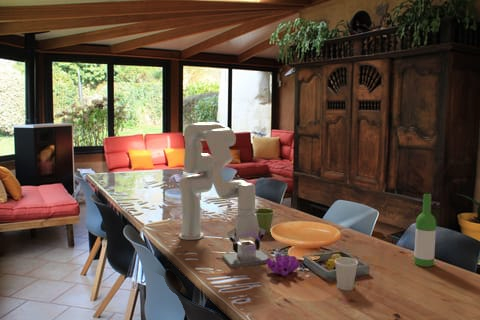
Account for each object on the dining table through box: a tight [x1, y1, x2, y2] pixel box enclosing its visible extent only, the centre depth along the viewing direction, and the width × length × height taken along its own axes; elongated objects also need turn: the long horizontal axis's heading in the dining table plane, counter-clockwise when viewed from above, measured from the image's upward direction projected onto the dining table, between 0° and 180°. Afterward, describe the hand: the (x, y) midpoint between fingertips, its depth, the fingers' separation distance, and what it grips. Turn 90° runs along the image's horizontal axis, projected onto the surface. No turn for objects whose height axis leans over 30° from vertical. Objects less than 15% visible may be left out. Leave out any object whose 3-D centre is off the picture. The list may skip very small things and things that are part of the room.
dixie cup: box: [335, 257, 358, 291], centre depth 157 cm, size 8×8×10 cm
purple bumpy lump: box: [265, 254, 302, 277], centre depth 171 cm, size 11×15×10 cm
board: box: [221, 249, 270, 268], centre depth 185 cm, size 12×18×6 cm, turn 109°
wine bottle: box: [413, 193, 437, 268], centre depth 179 cm, size 8×8×30 cm
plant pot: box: [256, 207, 276, 234], centre depth 227 cm, size 12×12×11 cm
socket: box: [237, 240, 257, 260], centre depth 185 cm, size 6×6×6 cm
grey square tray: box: [302, 250, 371, 282], centre depth 176 cm, size 19×19×4 cm
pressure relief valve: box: [325, 254, 341, 270], centre depth 174 cm, size 6×12×10 cm
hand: (246, 250), depth 185 cm, fingers open, 9 cm apart
